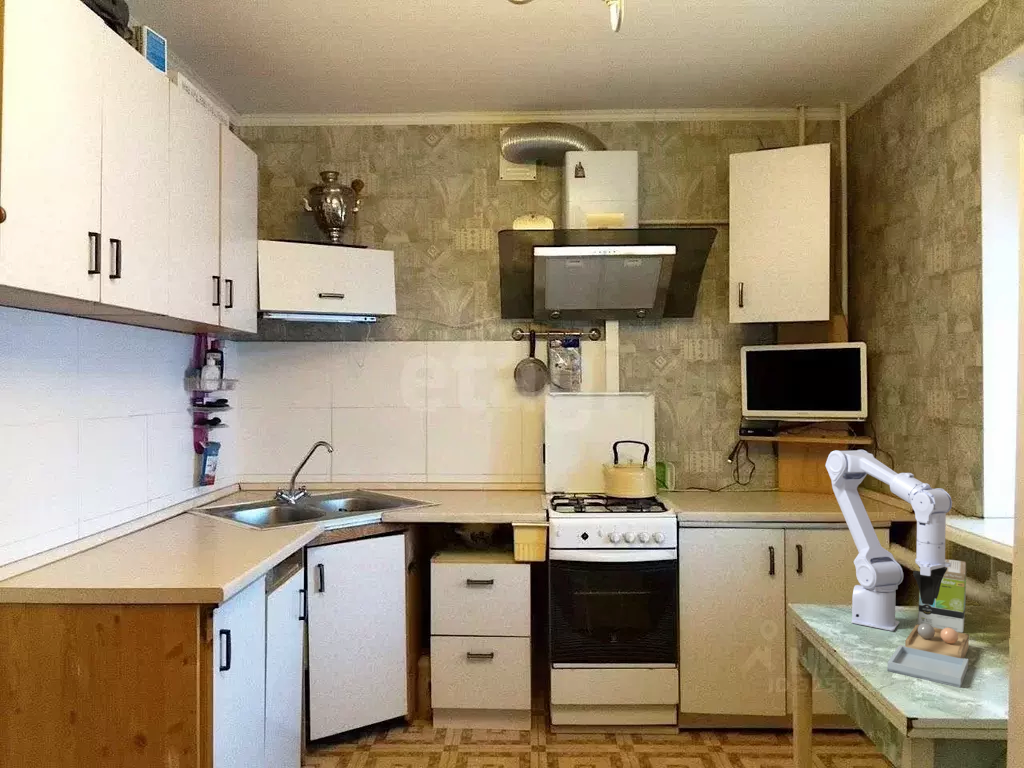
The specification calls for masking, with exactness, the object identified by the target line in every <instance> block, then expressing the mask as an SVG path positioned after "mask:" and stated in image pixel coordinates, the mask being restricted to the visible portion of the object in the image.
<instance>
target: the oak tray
mask: <svg viewBox="0 0 1024 768" xmlns="http://www.w3.org/2000/svg"><path fill="white" fill-rule="evenodd" d="M918 626H919V625H918V623H916V624H915V626H914V627H913V628H912V630H911V632H909V634H908V636H907V638H906V639H905V645H904V646H905V647H908V648H913V649H918V650H923V651H927V652H932V653H937V654H942V655H947V656H951V657H956V658H965V657H966V656H967V653H968V650H969V649H970V648H969V647H970V646H969V640H970V639H969V638H970V637H969V635H970V634H968V633H964V632H957V634H958V640H957V641H956V642H955V643H953V644H949V643H946V642H944V641H943V640H942V638H941V635H940V633H941V631H942V629H938V628H934V630H935V635H934V636H933V637H932V638H931V639H924V638H922V637H921V636H920V635H919V634H918ZM965 659H966V658H965Z"/></svg>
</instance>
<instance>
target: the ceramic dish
mask: <svg viewBox="0 0 1024 768" xmlns="http://www.w3.org/2000/svg"><path fill="white" fill-rule="evenodd" d="M968 669H969V658H956V657H951V656H947V655H942V654H937V653H932V652H927V651H923V650H918V649H913V648H908V647H905V645H903V644H902V645H901V644H899V645H898V646H897V648H896V649H895V651H894V652H893V654H891V657H890V658H889V660H888V661H887V672H891V673H896V674H900V675H904V676H909V677H913V678H917V679H922V680H926V681H930V682H935V683H938V684H943V685H948V686H953V687H957V688H961V687H962V685H963V682H964V679H965V676H966V674H967V671H968Z"/></svg>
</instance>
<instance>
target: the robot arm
mask: <svg viewBox="0 0 1024 768" xmlns="http://www.w3.org/2000/svg"><path fill="white" fill-rule="evenodd" d="M824 466H825V468H826V470H827V472H828V475H829V478H830V480H831V488H832V491H833V493H834V496H835V498H836V502H837V503H838V506H839V508H840V510H841V513H842V515H843V517H844V520H845V522H846V524H847V528H848V530H849V532H850V534H851V537H852V539H853V542H854V545H855V547H856V549H857V552H858V554H857V555H856V557H855V558H854V560H853V564H854V566H855V574H856V575H855V576H856V579H857V581H858V583H859V584H855V585H854V587H853V591H852V596H851V597H852V600H851V601H852V604H851V605H852V607H851V623H852V624H856V625H860V626H865V627H871V628H874V629H875V628H876V629H881V630H884V631H885V630H886V631H891V632H894V631H895V630H896V628H897V627H898V626H899V624H900V621H899V620H896V601H897V600H896V599H897V598H896V595H897V594H896V590H898V589H899V585H900V584H901V583H903V580H904V572H903V567H902V566H901V564H900V563H899V562H898V561H897V560H896V559H895V557H894V554H893V553H892V552H891V551H889V550H887V549H886V548H884V547H883V546H882V545H881V542H880V540H879V538H878V535H877V533H876V531H875V529H874V527H873V524H872V521H871V519H870V517H869V515H868V512H867V510H866V508H865V505H864V503H863V500H862V499H861V496H860V494H859V491H858V487H859V485H860V484H862V482H863V481H864V479H865V478H866V477H867V475H869V476H871V477H873V478H875V479H877V480H879V481H881V482H883V483H885V484H886V485H888V486H889V490H890V492H891V494H894V495H896V496H897V497H898V498H900V499H902V500H904V501H905V502H907V503H908V504H910V505H911V507H912V510H913V511H914V514H915V515H914V516H915V517H914V518H915V520H916V551H915V552H916V554H915V555H916V558H915V562H914V563H915V564H916V565H918V568H919V570H913V572H912V575H913V577H914V579H915V581H916V583H917V586H918V589H919V590H918V592H919V591H920V596H921V601H922V603H923V604H928V605H933V603H934V600H935V599H937V597H938V594H939V590H940V585H941V581H942V578H943V576H944V574H945V572H946V571H947V568H946V567H950V566H951V563H949V562H945V559H946V525H947V524H946V522H947V521H946V520H947V518H946V517H947V514H948V513H949V512H950V510H951V509H952V507H953V506H952V505H953V501H952V497H951V495H950V493H948V492H947V491H946V490H945V489H944V488H941V487H940V488H936V487H935V488H933V487H931V485H930V484H929V483H927V482H925V483H924V482H923V481H920V480H919V479H917V478H916V477H914V476H915V474H913V473H911V472H900V473H897V472H896V471H894V470H893V469H891V468H890V467H888V466H887V465H886V464H884V463H883V462H881V461H880V460H878V459H877V458H876V457H874V454H873V453H870V452H868V451H867V450H864V449H857V450H836V449H835V450H833V451H830V453H829V454H828V457H827V458H826V462H825V465H824Z"/></svg>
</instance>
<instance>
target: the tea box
mask: <svg viewBox="0 0 1024 768" xmlns="http://www.w3.org/2000/svg"><path fill="white" fill-rule="evenodd" d="M945 562H949V563H951V566H950V567H946V568H947V571H946V572H945V574H944V576H943V578H942V581H941V585H940V590H939V594H938V597H937V599H935V600H934V603H933V605H928V604H923V603H922V601H921V596H920V591H919V590H918V610H917V611H918V612H917V613H918V614H917V615H918V616H917V625H920V624H922V623H927V624H930V625H931V626H932V627H933V628H938V629H944V628H952V629H954V630H955V631H956V632H959V633H964V630H965V629H964V627H965V616H966V615H965V614H966V613H965V612H966V594H967V593H966V592H967V591H966V590H967V562H966V561H963V560H955V559H947V558H945Z"/></svg>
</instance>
